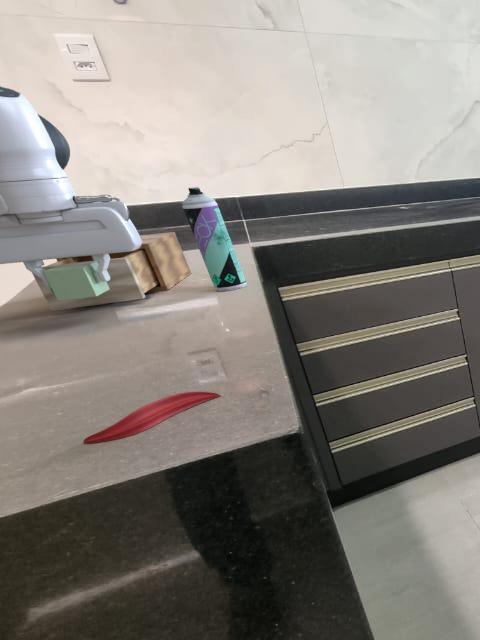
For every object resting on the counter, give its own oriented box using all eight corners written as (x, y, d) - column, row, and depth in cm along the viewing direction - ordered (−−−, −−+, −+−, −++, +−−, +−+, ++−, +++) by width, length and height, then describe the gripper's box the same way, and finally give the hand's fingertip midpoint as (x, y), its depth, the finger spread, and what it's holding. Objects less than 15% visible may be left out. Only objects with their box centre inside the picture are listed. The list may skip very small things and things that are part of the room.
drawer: (134, 304, 98) (115, 262, 95) (39, 317, 94) (15, 274, 90) (170, 281, 114) (154, 244, 111) (89, 291, 109) (71, 253, 106)
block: (58, 301, 87) (42, 271, 85) (73, 293, 91) (59, 265, 89) (96, 296, 89) (82, 267, 87) (110, 289, 93) (97, 261, 91)
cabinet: (168, 290, 111) (147, 243, 107) (77, 301, 106) (53, 253, 102) (191, 273, 124) (174, 231, 120) (112, 283, 119) (92, 240, 115)
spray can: (219, 286, 112) (181, 187, 103) (249, 282, 114) (214, 185, 105) (212, 292, 107) (171, 190, 99) (243, 288, 109) (206, 187, 101)
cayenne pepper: (84, 450, 52) (75, 434, 52) (81, 435, 55) (72, 419, 55) (227, 403, 60) (221, 388, 60) (218, 392, 63) (212, 378, 63)
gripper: (128, 191, 90) (161, 271, 95) (-36, 202, 83) (11, 288, 88) (112, 195, 84) (148, 279, 90) (-65, 207, 77) (-14, 297, 83)
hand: (79, 283), depth 89 cm, fingers closed on block, 5 cm apart
